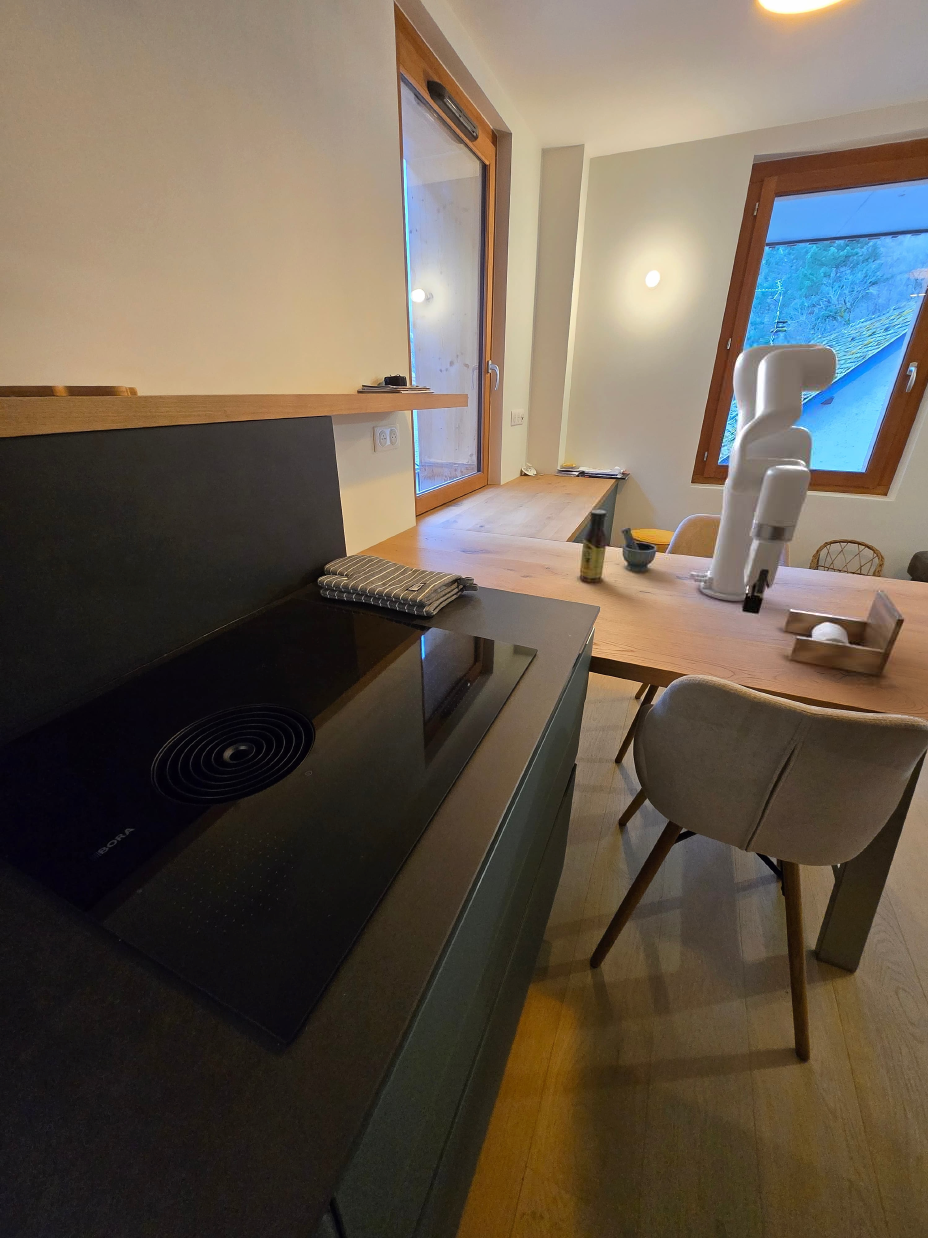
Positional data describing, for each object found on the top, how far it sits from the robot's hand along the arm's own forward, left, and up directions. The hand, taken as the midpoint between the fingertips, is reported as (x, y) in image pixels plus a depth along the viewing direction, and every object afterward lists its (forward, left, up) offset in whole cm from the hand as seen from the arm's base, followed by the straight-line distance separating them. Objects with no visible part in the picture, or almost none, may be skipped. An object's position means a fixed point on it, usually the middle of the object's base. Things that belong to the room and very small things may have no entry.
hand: (750, 611), depth 107 cm
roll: (+15, -1, -6) cm, 16 cm away
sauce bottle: (-39, +20, -6) cm, 44 cm away
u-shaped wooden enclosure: (+16, -1, -6) cm, 17 cm away
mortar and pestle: (-29, +35, -6) cm, 46 cm away
